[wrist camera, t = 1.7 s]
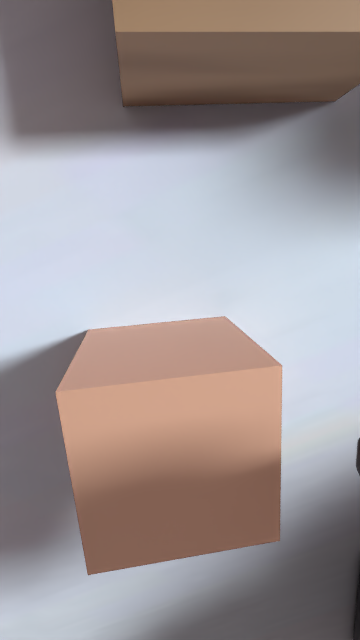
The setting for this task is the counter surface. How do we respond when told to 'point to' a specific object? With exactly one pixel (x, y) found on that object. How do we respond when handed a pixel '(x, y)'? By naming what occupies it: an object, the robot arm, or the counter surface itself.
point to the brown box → (236, 51)
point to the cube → (172, 441)
